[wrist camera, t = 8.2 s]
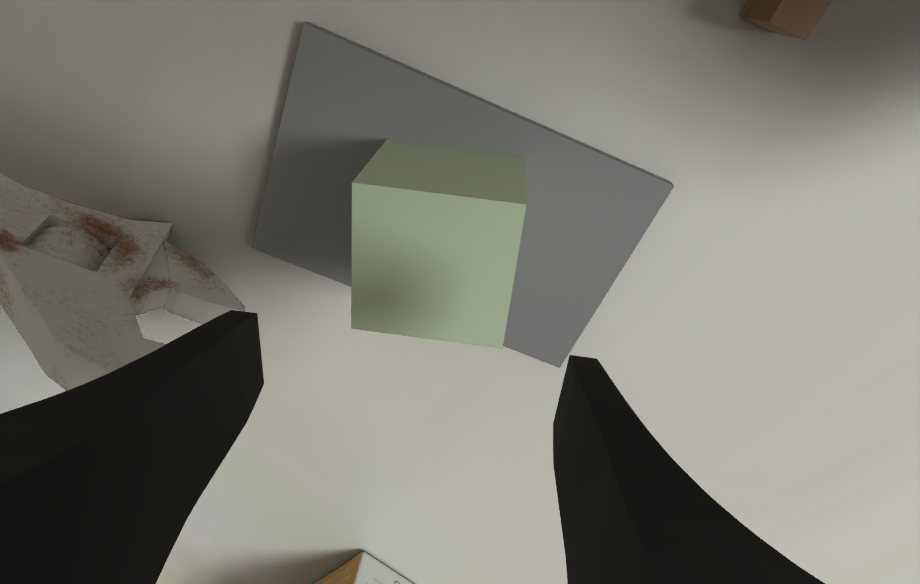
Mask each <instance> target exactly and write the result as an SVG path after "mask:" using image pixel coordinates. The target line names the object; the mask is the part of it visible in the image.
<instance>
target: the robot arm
mask: <svg viewBox="0 0 920 584" xmlns="http://www.w3.org/2000/svg"><path fill="white" fill-rule="evenodd" d="M263 384H264V379H263V369H262V358H261V348H260V338H259V327H258V317H257V313H250V312H243V311H235V310H230V311H228V312H226V313H224V314H222V315H220V316H218V317H216V318H214V319H212V320H210V321H208V322H206V323H205V324H203V325H201V326H199V327H197V328H195V329H194V330H192V331H190V332H188V333H186V334H184V335H183V336H181V337H179V338H177V339H175V340H173V341H172V342H170V343H168V344H166V345H164V346H162V347H160V348H159V349H157V350H155V351H153V352H151V353H149V354H147V355H145V356H143V357H141V358H139V359H137V360H135V361H133V362H130V363H128V364H126V365H124V366H122V367H120V368H118V369H116V370H114V371H112V372H110V373H108V374H106V375H103V376H101V377H99V378H97V379H94V380H92V381H90V382H87V383H85V384H83V385H80V386H78V387H75V388H73V389H70V390H68V391H65V392H63V393H60V394H57V395H55V396H52V397H49V398H47V399H44V400H41V401H38V402H35V403H32V404H29V405H26V406H23V407H20V408H17V409H14V410H11V411H8V412H5V413H2V414H0V584H156V582H157V580H158V577H159V575H160V573H161V571H162V569H163V567H164V564H165V562H166V560H167V558H168V556H169V554H170V552H171V550H172V548H173V546H174V544H175V542H176V540H177V538H178V536H179V534H180V532H181V530H182V528H183V526H184V524H185V522H186V520H187V518H188V516H189V514H190V513H191V511H192V509H193V507H194V506H195V504H196V502H197V500H198V499H199V497H200V496H201V494H202V493H203V491H204V489H205V488H206V486H207V485H208V483H209V481H210V480H211V478H212V477H213V475H214V474H215V472H216V470H217V469H218V467H219V466H220V464H221V462H222V461H223V459H224V458H225V456H226V455H227V453H228V451H229V450H230V448H231V447H232V445H233V443H234V442H235V440H236V439H237V437H238V435H239V434H240V432H241V430H242V429H243V427H244V425H245V424H246V422H247V420H248V418H249V416H250V414H251V412H252V410H253V408H254V405H255V403H256V401H257V399H258V396H259V394H260V392H261V389H262V387H263ZM553 458H554V471H555V479H556V487H557V494H558V502H559V509H560V517H561V524H562V532H563V539H564V547H565V554H566V565H567V579H568V584H825V583H823V582H822V581H820V580H819V579H817V578H815V577H814V576H812V575H811V574H809V573H808V572H806V571H805V570H803V569H802V568H800V567H799V566H797V565H796V564H794V563H793V562H792V561H790V560H789V559H787V558H786V557H785V556H783V555H782V554H781V553H779V552H778V551H777V550H775V549H774V548H773V547H771V546H770V545H768V544H767V543H766V542H764V541H763V540H762V539H760V538H759V537H758V536H757V535H755V534H754V533H753V532H752V531H750V530H749V529H748V528H747V527H745V526H744V525H743V524H742V523H740V522H739V521H738V520H737V519H736V518H735V517H733V516H732V515H731V514H730V513H729V512H728V511H726V510H725V509H724V508H723V507H722V506H721V505H719V504H718V503H717V502H716V501H715V500H714V499H713V498H711V497H710V496H709V495H708V494H707V493H706V492H705V491H704V490H703V489H702V488H701V487H700V486H699V485H698V484H697V483H696V482H695V481H694V480H693V479H692V478H691V477H690V476H689V475H688V474H687V473H686V472H685V471H684V470H683V469H682V468H681V467H680V466H679V465H678V464H677V463H676V462H675V461H674V460H673V459H672V458H671V457H670V456H669V454H668V453H667V452H666V451H665V450H664V449H663V448H662V446H661V445H660V444H659V443H658V442H657V441H656V439H655V438H654V437H653V436H652V435H651V433H650V432H649V431H648V430H647V428H646V427H645V426H644V425H643V423H642V422H641V421H640V419H639V418H638V417H637V415H636V414H635V413H634V411H633V410H632V409H631V407H630V406H629V405H628V403H627V402H626V400H625V399H624V398H623V396H622V395H621V393H620V392H619V390H618V389H617V387H616V386H615V384H614V383H613V382H612V380H611V379H610V377H609V376H608V374H607V373H606V371H605V370H604V368H603V367H602V365H601V364H600V362H599V361H598V360H597V359H595V358H587V357H580V356H572V355H570V356H569V360H568V364H567V369H566V373H565V377H564V381H563V385H562V389H561V394H560V398H559V402H558V406H557V410H556V414H555V419H554V423H553Z"/></svg>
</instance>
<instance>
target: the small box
mask: <svg viewBox="0 0 920 584" xmlns="http://www.w3.org/2000/svg"><path fill="white" fill-rule="evenodd" d="M314 584H413V583H412V582H410V581H408V580H407V579H405V578H404V577H402V576H401V575H399V574H398V573H396V572H395V571H393V570H392V569H390V568H389V567H387V566H386V565H384V564H383V563H381V562H379V561H378V560H376V559H375V558H373V557H372V556H370V555H369V554H367V553H365V552H361V553H359V554H358V555H357V556H355V557H354V558H352V559H351V560H350V561H348V562H347V563H346V564H344V565H342V566H341V567H339V568H338V569H336V570H335V571H333V572H331V573H330V574H328V575H326V576H325V577H323V578H322V579H320V580H318V581H317V582H315V583H314Z"/></svg>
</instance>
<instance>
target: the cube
mask: <svg viewBox="0 0 920 584" xmlns="http://www.w3.org/2000/svg"><path fill="white" fill-rule="evenodd" d="M525 211H526V177H525V156H523V155H515V154H507V153H499V152H491V151H483V150H475V149H466V148H458V147H450V146H442V145H434V144H426V143H418V142H410V141H402V140H394V139H387V140H386V141H385V142H384V144H383V145H382V146H381V147H380V149H379V150H378V151H377V152H376V153H375V155H374V156H373V157H372V158H371V160H370V161H369V162H368V163H367V165H366V166H365V167H364V168H363V170H362V171H361V172H360V173H359V174H358V176H357V177H356V178H355V179H354V181H353V182H352V307H351V328H352V329H359V330H366V331H374V332H381V333H389V334H396V335H404V336H411V337H419V338H426V339H434V340H441V341H448V342H456V343H463V344H471V345H478V346H486V347H493V348H501V349H502V348H503V342H504V336H505V330H506V324H507V318H508V312H509V306H510V300H511V294H512V288H513V282H514V276H515V270H516V264H517V258H518V252H519V246H520V240H521V234H522V229H523V223H524V217H525Z"/></svg>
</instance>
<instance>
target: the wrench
mask: <svg viewBox="0 0 920 584" xmlns="http://www.w3.org/2000/svg"><path fill="white" fill-rule="evenodd" d="M171 227H172V223H164V222H151V221H138V220H129V219H125V218H122V217H118V216H115V215H111V214H107V213H104V212H100V211H97V210H93V209H90V208H86V207H83V206H79V205H76V204H72V203H69V202H65V201H63V200H60V199H57V198H55V197H52V196H50V195H47V194H45V193H42V192H40V191H37V190H34V189H32V188H29V187H27V186H24V185H22V184H19V183H17V182H15V181H14V180H12V179H10V178H8V177H7V176H5V175H3V174H2V173H0V304H1V306H2V307H3V309H4V310H5V312H6V313H7V315H8V316H9V318H10V319H11V321H12V322H13V324H14V325H15V327H16V328H17V330H18V331H19V333H20V334H21V336H22V337H23V339H24V340H25V342H26V343H27V345H28V346H29V348H30V349H31V351H32V353H33V354H34V356H35V358H36V360H37V361H38V363H39V365H40V367H41V368H42V370H43V371H44V372H45V374H46V375H47V376H48V377H49V378H51V379H52V380H53V381H54V382H56V383H57V384H58V385H60V386H61V387H62V388H64V389H65V390H66V391H68V390H70V389H73V388H75V387H78V386H80V385H83V384H85V383H87V382H90V381H92V380H94V379H97V378H99V377H101V376H103V375H106V374H108V373H110V372H112V371H114V370H116V369H118V368H120V367H122V366H124V365H126V364H128V363H130V362H133V361H135V360H137V359H139V358H141V357H143V356H145V355H147V354H149V353H151V352H153V351H155V350H157V349H159V348H160V347H162V346H164V345H166V344H162V343H159V342H155V341H152V340H148V339H144V338H143V336H142V333H141V331H140V328H139V325H138V323H137V320H136V317H135V316H136V315H139V314H142V313H145V312H149V311H152V310H155V309H158V308H161V307H164V308H165V309H166V310H167V311H169V312H171V313H173V314H176V315H178V316H181V317H184V318H187V319H190V320H192V321H195V322H198V323H201V324H205V323H206V322H208V321H210V320H212V319H214V318H216V317H218V316H220V315H222V314H224V313H226V312H228V311H230V310H235V311H243V312H244V308H245V306H244V305H243V304H242V303H241V302H240V301H239V299H238V298H237V297H236V296H235V295H234V294H233V293H232V291H231V290H230V289H229V288H228V287H227V286H226V285H225V284H224V283H223V282H222V281H221V280H220V279H219V278H217V277H216V276H215V275H214V274H213V273H212V272H211V271H210V270H209V269H208V268H206V267H205V266H204V265H203V264H202V263H200V262H198V261H197V260H195V259H194V258H192V257H190V256H189V255H187V254H186V253H184V252H182V251H181V250H179V249H178V248H176V247H174V246H172V245H171V244H169V243H167V242H166V241H167V239H168V236H169V233H170V230H171Z"/></svg>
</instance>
